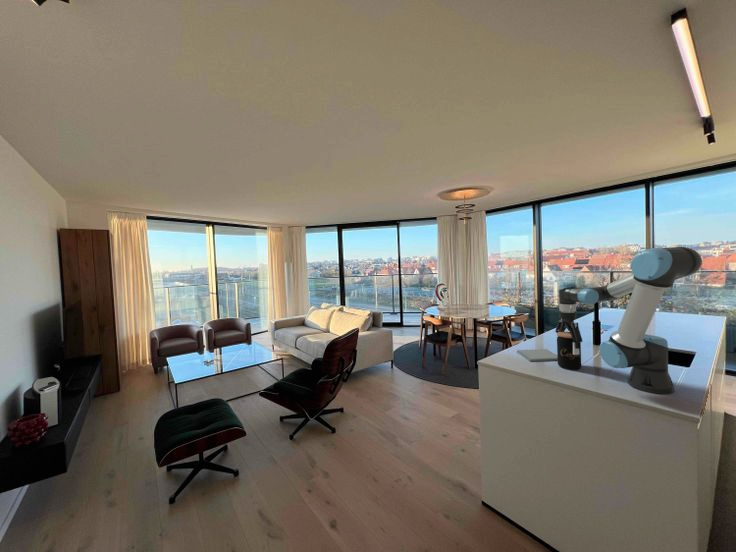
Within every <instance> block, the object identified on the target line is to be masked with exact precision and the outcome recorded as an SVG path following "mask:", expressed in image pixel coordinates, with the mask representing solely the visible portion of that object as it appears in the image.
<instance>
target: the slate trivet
mask: <svg viewBox="0 0 736 552" xmlns="http://www.w3.org/2000/svg"><path fill="white" fill-rule="evenodd" d="M516 353H517V354H519V356H521V357H523V358H524V359H525V360H527V361H529V362H530V363H533V361H535V362H553V361H554V360H558V358H557V354H555V353H553V352H552V351H550V350H549V349H547V348H544V349H543V348H542V349H541V348H540V349H539V348H537V349H518V350H516ZM554 362H555V361H554Z"/></svg>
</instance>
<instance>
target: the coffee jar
mask: <svg viewBox="0 0 736 552" xmlns="http://www.w3.org/2000/svg"><path fill="white" fill-rule="evenodd" d="M556 336H557V337H556V349H557V351H556V353H557V354H556V355H557V358H558V361H557V365H558V366H559V367H560V368H561V369H565V370H568V371H570V370H571V371H578V370H580V369H581V368H582V346H581V345H582V342H580V343H579V354H578V355H574V354H573V341H574V340H573V338H572V336H571V334H570V331H564V332H558V333H556Z"/></svg>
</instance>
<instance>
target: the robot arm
mask: <svg viewBox="0 0 736 552" xmlns="http://www.w3.org/2000/svg"><path fill="white" fill-rule="evenodd" d="M702 265H703V259H702V256H701V255H700V253H699V252H697V250H696V249H695V250H694V249H693V248H689V247H687V246H674V247H652V248H649V249H643V250H642V251H639V252H638V253H636V254H634V256H633V258H632V259H631V262H630V265H629V266H630V270H631V274H629V275H627V276H624V277H621V278H619V279H617V280H615V281H613V282H610V283H608V284H606V285H603V286H593V287H577V285H576V283H575V282H570V281H568V282H560V283H559V285H558V302H559V303H558V307H559V308H558V310H559V316H558V320H557V324H556V326H555V332H554V333H556V334H557V333H558V332H566V330H567V332H570V334H571V336H572V338H573V340H574V341H573V354H574V355H578V354H579V343H580V342H581V343H583V337H582V335H581V331H580V327H579V323H578V322H575V321H574V320H576V319H577V312H576V311H577V303H580V304H583V305H595V304H596V303H601V302H614V301H617V300H620V298H621V297H624V296H626V295H629V294H631V296H630V298H629V299H628V300H629V301H628V303H627V306H626V308H625V311H624V313H623V316H622V319H621V321H620V324H619V326H618V328H617V331H613V332H611V334H610V337H609V339H608V340H605V341H603V342H601V343H600V344H599V347H598V348H599V349H598V351H599V355H600V356H601V359H602V360H603V362H604V363H605V364H607V365H608V366H610V367H611V368H614V369H626V368H631V370H630V371H629V374H628V376H627V384H628V385H629V386H630V387H632V388H634V389H637V390H639V391H643V392H647V393H652V394H653V393H654V394H658V395H659V394H663V395H665V394H667V395H668V394H673V393H674V392H675V385H674V383H673V380H672V378H671V375H670V374H669V344H668V340H667V339H666V338H664V337H661V336H658V335H653V334H646V333H647V331H648V329H649V327H650V324H651V322H652V320H653V317H654V315H655V313H656V310H657V308H658V306H659V304H660V302H661V299H662V297H663V295H664V293H665V290H667V289H670V288H672V287H673V286H674V284H675V281H677V280H679V279H682V278H686V277H689V276H692V275H695V274H696V273H697V272H698V271H699V270H700V269H701V267H702Z"/></svg>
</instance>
